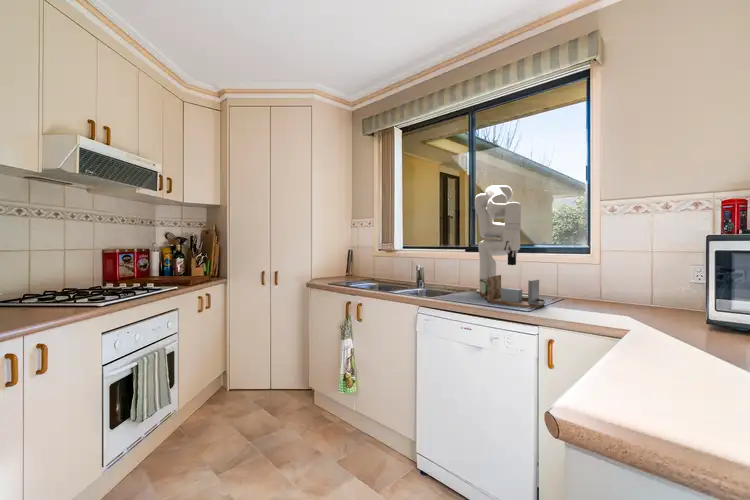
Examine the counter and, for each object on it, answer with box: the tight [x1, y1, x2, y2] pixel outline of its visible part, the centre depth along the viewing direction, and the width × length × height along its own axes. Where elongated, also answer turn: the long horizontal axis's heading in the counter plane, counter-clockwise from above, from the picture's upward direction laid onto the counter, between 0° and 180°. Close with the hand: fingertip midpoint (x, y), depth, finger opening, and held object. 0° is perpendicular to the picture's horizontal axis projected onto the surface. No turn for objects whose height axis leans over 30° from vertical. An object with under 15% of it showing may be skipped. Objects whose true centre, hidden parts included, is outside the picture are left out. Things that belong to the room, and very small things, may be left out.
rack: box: [486, 274, 545, 309], centre depth 171 cm, size 12×23×13 cm, turn 44°
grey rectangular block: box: [501, 287, 523, 303], centre depth 173 cm, size 4×9×6 cm, turn 44°
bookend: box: [527, 278, 546, 305], centre depth 164 cm, size 9×5×11 cm, turn 134°
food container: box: [479, 277, 488, 300], centre depth 189 cm, size 12×6×10 cm, turn 179°
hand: (511, 264), depth 172 cm, fingers closed
